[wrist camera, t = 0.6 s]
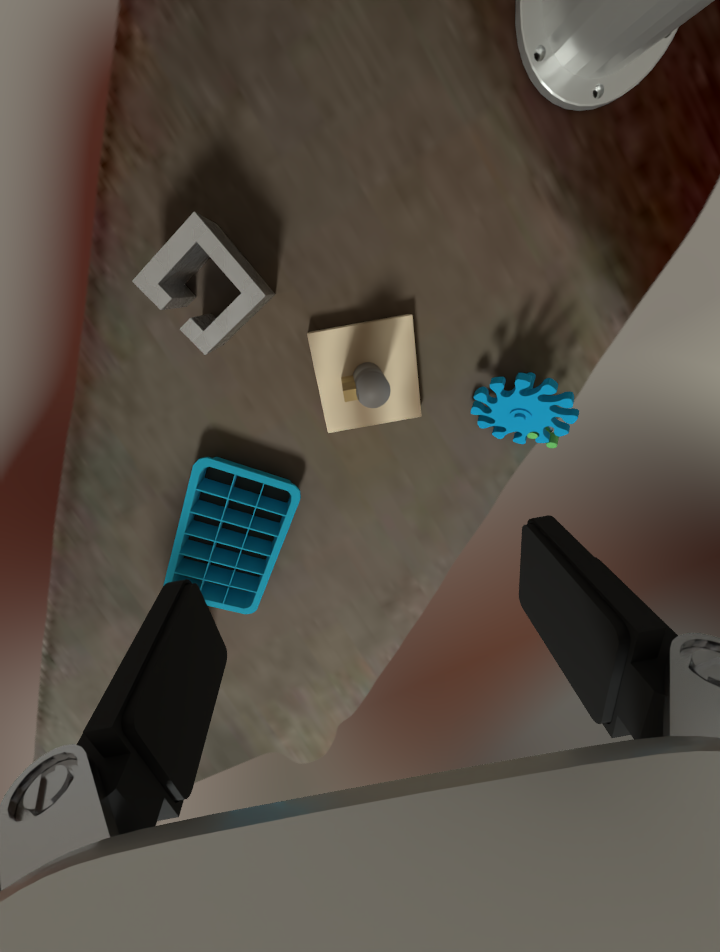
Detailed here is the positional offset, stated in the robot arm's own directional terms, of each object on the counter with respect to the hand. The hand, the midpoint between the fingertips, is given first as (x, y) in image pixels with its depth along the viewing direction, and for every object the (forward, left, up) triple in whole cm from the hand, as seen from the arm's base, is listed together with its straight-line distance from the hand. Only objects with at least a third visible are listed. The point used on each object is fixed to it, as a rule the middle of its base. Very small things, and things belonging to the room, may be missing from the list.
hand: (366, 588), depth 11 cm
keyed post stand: (+1, +3, -31) cm, 31 cm away
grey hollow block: (-9, -9, -31) cm, 34 cm away
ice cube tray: (+17, -16, -32) cm, 39 cm away
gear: (+7, +18, -31) cm, 37 cm away
